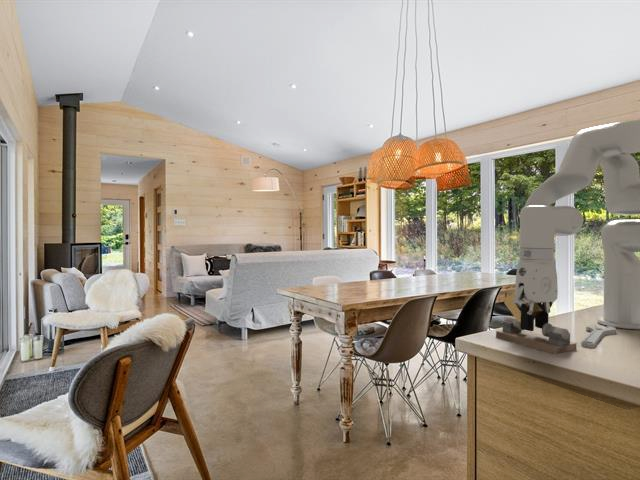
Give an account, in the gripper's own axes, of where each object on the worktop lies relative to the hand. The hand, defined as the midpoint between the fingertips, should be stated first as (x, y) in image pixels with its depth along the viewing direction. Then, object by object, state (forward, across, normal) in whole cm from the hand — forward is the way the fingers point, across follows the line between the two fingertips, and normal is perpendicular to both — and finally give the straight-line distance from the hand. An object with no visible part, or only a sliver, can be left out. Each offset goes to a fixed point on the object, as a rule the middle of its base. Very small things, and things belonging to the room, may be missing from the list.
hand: (534, 328), depth 100 cm
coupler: (-3, 0, +1) cm, 3 cm away
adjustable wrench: (+4, +20, -2) cm, 21 cm away
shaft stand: (+4, 0, 0) cm, 4 cm away
